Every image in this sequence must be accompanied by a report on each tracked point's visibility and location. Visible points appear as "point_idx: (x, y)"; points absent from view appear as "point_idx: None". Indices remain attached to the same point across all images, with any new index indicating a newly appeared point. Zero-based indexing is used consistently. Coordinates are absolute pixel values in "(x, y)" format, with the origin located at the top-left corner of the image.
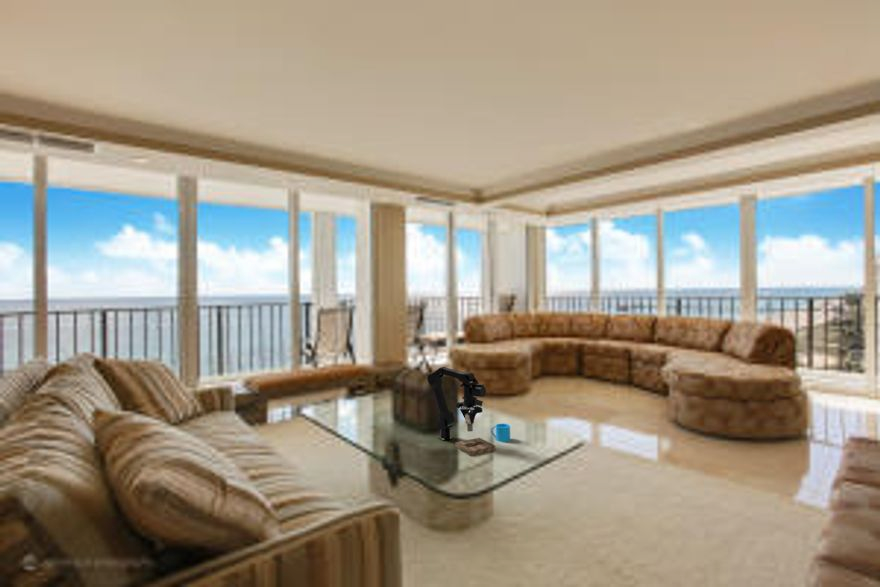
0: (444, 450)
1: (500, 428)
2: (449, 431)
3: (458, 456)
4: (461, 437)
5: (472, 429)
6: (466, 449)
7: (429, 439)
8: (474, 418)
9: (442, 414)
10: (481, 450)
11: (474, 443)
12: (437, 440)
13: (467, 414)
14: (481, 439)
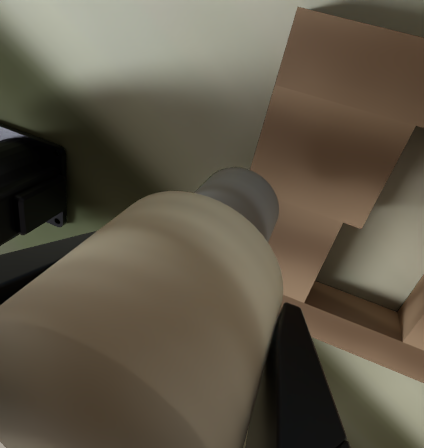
0: None
1: None
2: (13, 197)
3: (378, 399)
4: (68, 51)
5: (271, 205)
6: (408, 373)
7: (2, 247)
8: (339, 422)
9: None
10: None
11: (370, 209)
12: (40, 234)
13: (28, 433)
14: (372, 51)
